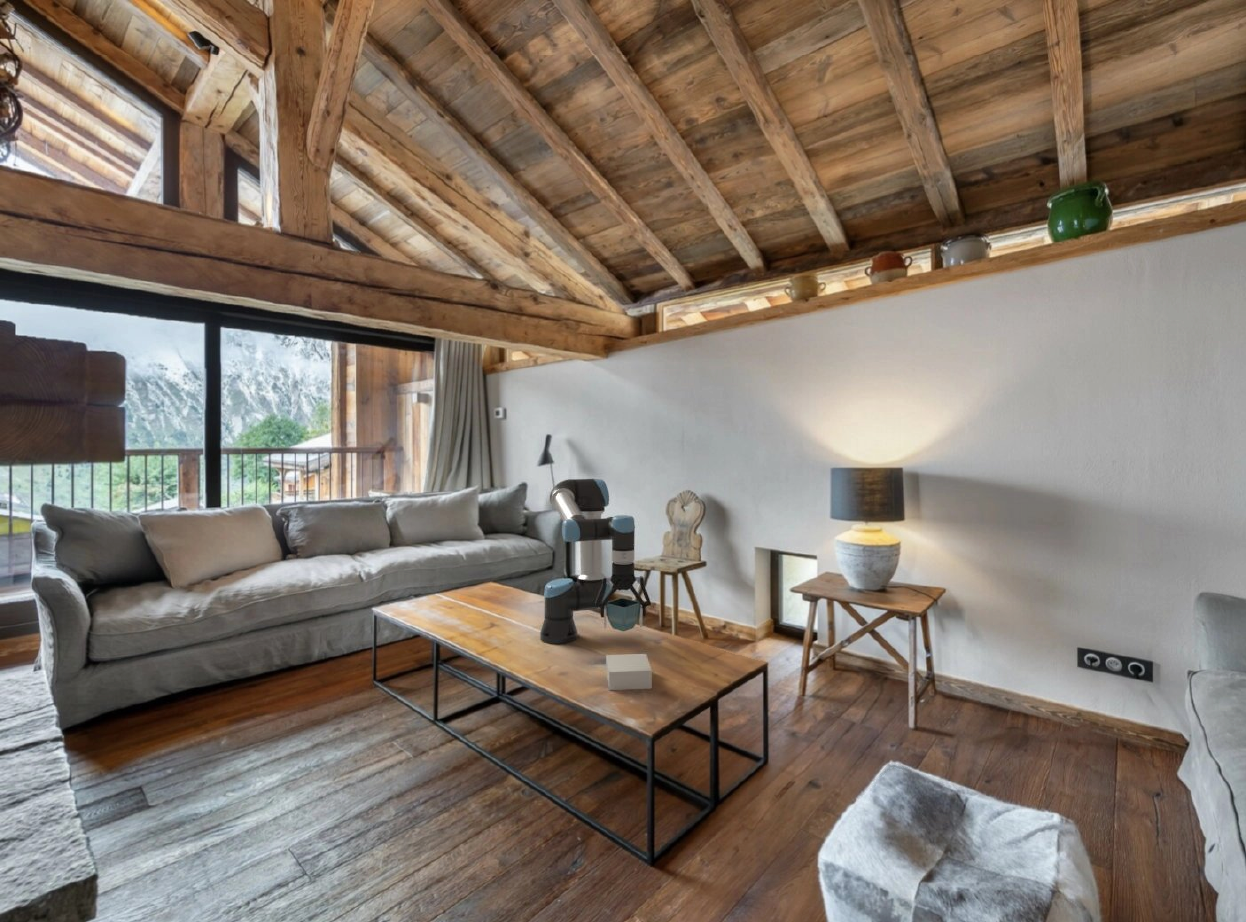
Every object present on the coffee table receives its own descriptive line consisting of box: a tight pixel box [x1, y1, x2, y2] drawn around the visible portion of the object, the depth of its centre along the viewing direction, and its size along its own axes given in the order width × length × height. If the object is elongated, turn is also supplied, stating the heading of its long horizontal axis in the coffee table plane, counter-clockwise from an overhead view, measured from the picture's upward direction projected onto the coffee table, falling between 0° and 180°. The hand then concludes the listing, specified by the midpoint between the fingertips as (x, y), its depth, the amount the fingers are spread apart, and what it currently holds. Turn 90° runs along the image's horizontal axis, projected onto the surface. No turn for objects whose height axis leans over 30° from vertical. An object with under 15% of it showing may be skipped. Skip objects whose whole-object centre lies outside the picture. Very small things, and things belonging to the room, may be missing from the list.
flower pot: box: [606, 597, 642, 632], centre depth 186 cm, size 9×9×9 cm
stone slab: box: [605, 653, 653, 691], centre depth 188 cm, size 14×14×6 cm
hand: (623, 626), depth 187 cm, fingers closed on flower pot, 11 cm apart
